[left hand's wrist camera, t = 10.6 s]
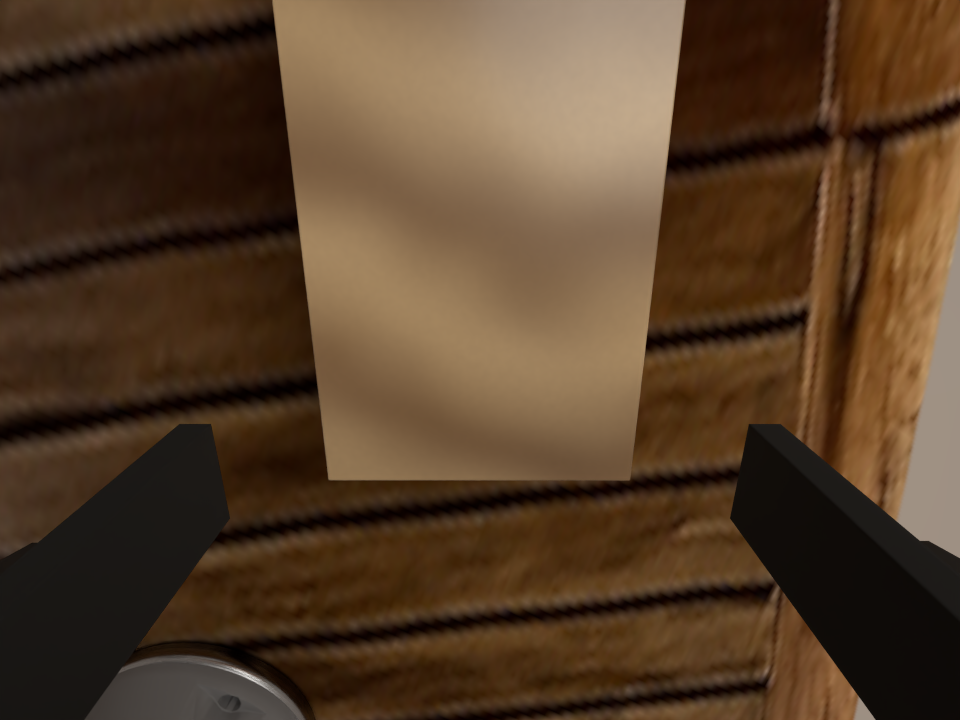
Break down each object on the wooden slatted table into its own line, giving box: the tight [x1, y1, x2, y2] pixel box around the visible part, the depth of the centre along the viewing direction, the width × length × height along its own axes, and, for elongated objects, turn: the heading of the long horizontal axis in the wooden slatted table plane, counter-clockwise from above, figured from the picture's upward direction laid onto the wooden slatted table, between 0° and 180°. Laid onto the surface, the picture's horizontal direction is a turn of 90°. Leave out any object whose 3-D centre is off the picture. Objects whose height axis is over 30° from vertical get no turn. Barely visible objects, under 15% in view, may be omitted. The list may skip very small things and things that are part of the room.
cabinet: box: [272, 0, 686, 480], centre depth 20 cm, size 20×11×8 cm, turn 0°
